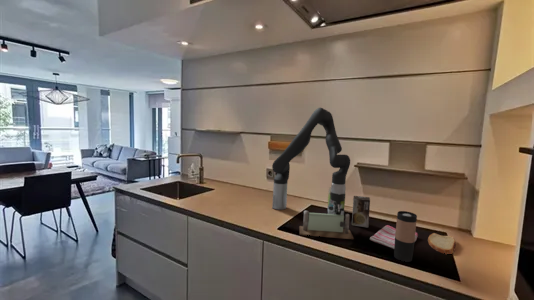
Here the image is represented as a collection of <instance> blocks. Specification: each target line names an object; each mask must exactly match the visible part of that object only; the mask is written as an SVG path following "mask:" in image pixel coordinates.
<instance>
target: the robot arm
mask: <svg viewBox="0 0 534 300" xmlns="http://www.w3.org/2000/svg"><path fill="white" fill-rule="evenodd" d="M333 117H334V116H333V114H332V113H331V112H330V111H328V110H327V109H326V108H325V109H324V108H323V107H318V108H316V109H315V110H314V111H313V112H312V113H311V115H310V117H309V118H308V120H307V121H306V123H305V124H304V125H303V127H302V128H301V129H300V130H299V132H298V133H297V134H296V135H295V136H294V138H292V140H291V141H290V143H289V144H288V146H287V147H286V148H285V150H283V152H282V153H281V154H280V155H279V156H278V157H277V158H276V159H275V160H274V161H273V163H272V167H271V168H272V171H273V172H274V173H276V175H275V176H274V178H273V190H272V193H273V194H272V204H271V205H272V207H271V209H275V210H279V211H281V210H286V209H287V201H288V200H287V199H288V182H289V179H290V168H291V167H290V165H291V164H290V162H291V161H292V160H293V159H294V158H296V157H297V156H298V155H300V154H301V153H302V152H303V151H304V150H305V149H306V148H307V146H309V144H310V142H311V138H312V137H311V136H312V133H313V131H314V129H315V128H316V127H317V125H320V126H322V127H323V129H324V131H325V144H326V146H327V150H328V156H329V157H328V158H329V165H330V166H331V168H335V169H338V170H337V171H334V172H333V173H332V175H331V176H332V178H331V185H330V187H331V198H330V199H331V200H333V201H334V202H333V212H334V214H338V215H340V214H341V211H342V210H341V207H342V204H341V202H343V201H345V202H346V180H347V179H346V177H347V175H348V172H349V169H350V166H351V158H350V156H349V155H348V154H340V153H341V152H342V151H343V149H342V148H343V147H342V145H341V143H340V139H339V138H338V135H337V131H336V127H335V123H334V122H335V121H334V118H333Z"/></svg>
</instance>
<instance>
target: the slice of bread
mask: <svg viewBox="0 0 534 300" xmlns="http://www.w3.org/2000/svg"><path fill="white" fill-rule="evenodd" d="M427 242H428V245H429V246H430V248H432V249H433V250H435V251H436V252H438V253H441V254H444V253H445V254H444V255H447V254H452V253H453V252H454V253H455V250H454V249H456V247H457V246H456V244H457V243H456V240H455V237H454V236H453V235H442V234H441V235H440V234H438V233H435V232H433V233H431V234H429V236H428V238H427ZM454 253H453V254H454ZM453 254H452V255H453Z"/></svg>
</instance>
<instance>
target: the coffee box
mask: <svg viewBox="0 0 534 300" xmlns="http://www.w3.org/2000/svg"><path fill="white" fill-rule="evenodd" d="M352 201H353V202H352V215H351V216H352V218H351V226H355V227H362V228H369V226H370V225H369V224H370V222H369V221H370V206H371V205H370V204H371V197H369V196H361V195H360V196H359V195H353V199H352Z"/></svg>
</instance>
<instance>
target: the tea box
mask: <svg viewBox="0 0 534 300" xmlns="http://www.w3.org/2000/svg"><path fill="white" fill-rule="evenodd" d="M330 198H331V186H329V187H328V197H327V214H334V212H333V202H334V201H333V200H331V199H330ZM341 204H342V207H341V210H342V211H341V214H340V215H344V216H345V204H346V200H345V201H343V202H341Z"/></svg>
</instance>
